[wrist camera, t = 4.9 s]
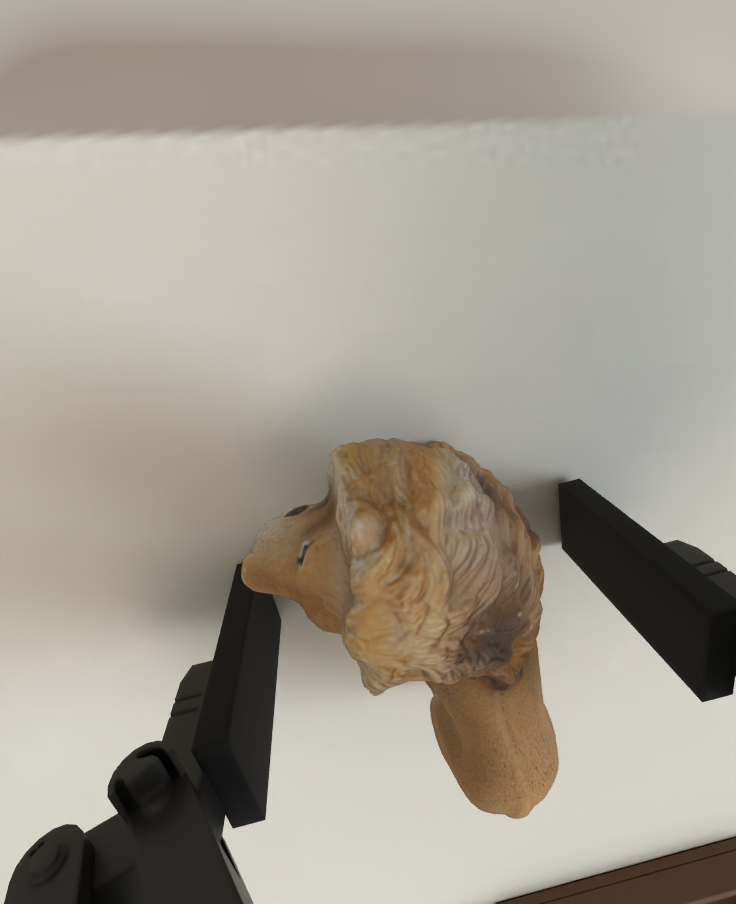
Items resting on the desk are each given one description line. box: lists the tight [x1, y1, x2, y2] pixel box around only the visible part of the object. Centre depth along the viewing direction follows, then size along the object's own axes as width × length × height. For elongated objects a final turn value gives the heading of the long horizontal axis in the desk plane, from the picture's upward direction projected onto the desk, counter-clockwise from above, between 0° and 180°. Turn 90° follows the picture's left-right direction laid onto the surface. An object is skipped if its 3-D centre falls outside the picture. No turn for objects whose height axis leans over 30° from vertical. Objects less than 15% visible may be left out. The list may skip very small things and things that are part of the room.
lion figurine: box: [241, 438, 559, 819], centre depth 12 cm, size 15×5×9 cm, turn 27°
